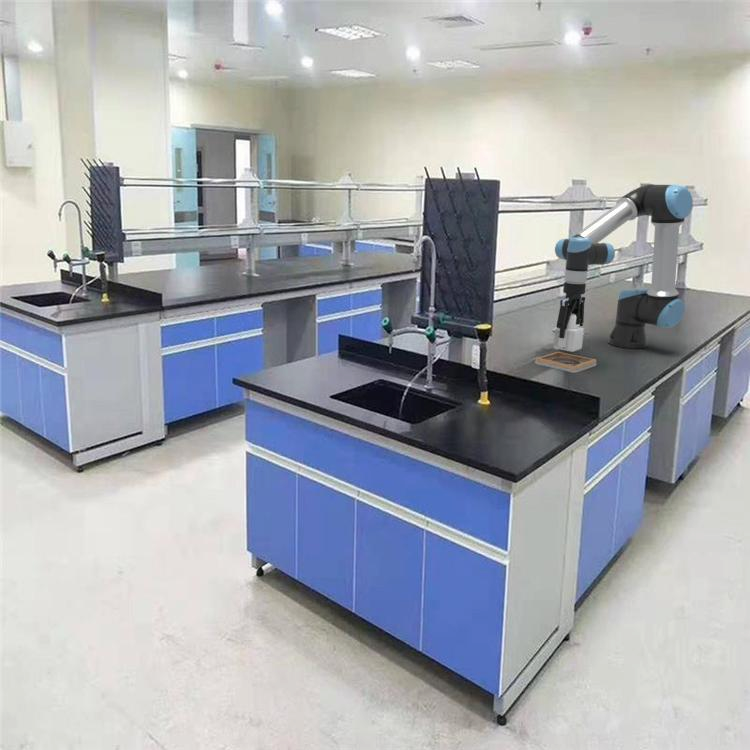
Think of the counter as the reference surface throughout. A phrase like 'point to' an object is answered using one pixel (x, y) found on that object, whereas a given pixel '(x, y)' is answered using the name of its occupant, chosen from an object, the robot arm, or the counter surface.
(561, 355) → the wooden square frame
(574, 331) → the container
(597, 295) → the counter surface
